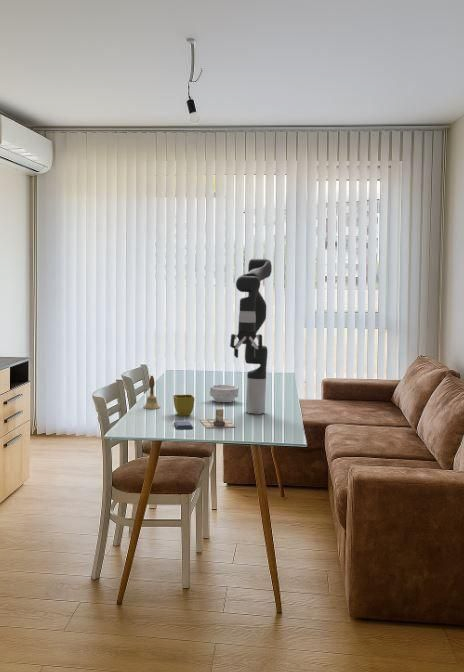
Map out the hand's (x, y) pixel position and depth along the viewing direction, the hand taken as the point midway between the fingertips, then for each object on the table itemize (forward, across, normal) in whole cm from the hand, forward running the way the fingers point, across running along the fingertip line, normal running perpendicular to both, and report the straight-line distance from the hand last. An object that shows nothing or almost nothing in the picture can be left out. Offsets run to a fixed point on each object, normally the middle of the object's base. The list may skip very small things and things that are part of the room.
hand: (245, 357), depth 289 cm
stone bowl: (+30, -3, -55) cm, 63 cm away
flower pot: (+30, +24, -22) cm, 45 cm away
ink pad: (+30, +28, +3) cm, 41 cm away
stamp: (+30, +12, +3) cm, 32 cm away
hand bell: (+30, +37, -41) cm, 63 cm away
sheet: (+30, +12, -1) cm, 32 cm away
